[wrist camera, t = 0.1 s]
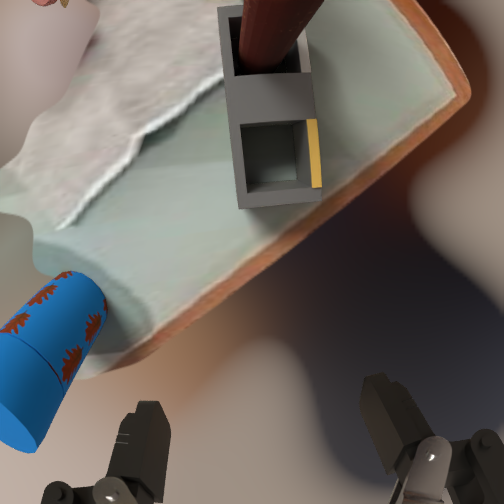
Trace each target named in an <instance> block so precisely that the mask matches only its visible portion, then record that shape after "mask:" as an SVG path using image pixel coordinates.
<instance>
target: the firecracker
mask: <svg viewBox="0 0 504 504" xmlns="http://www.w3.org/2000/svg"><path fill="white" fill-rule="evenodd" d="M323 2H324V0H244V6H243V14H242V23H241V32H240V41H239V50H238V66H239V68H240V70H241V71H242V72H243V74H245V75H258V74H273V73H274V72H275V71H276V70H277V68H278V67H279V65H280V64H281V62H282V61H283V59H284V58H285V56H286V55H287V53H288V52H289V50H290V49H291V47H292V46H293V44H294V43H295V41H296V40H297V38H298V37H299V35H300V34H301V32H302V31H303V30H304V28H305V27H306V25H307V24H308V22H309V21H310V20H311V18H312V17H313V15H314V14H315V13H316V11H317V10H318V9H319V7H320V6H321V4H322V3H323Z"/></svg>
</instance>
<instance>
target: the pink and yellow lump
mask: <svg viewBox="0 0 504 504" xmlns="http://www.w3.org/2000/svg"><path fill="white" fill-rule="evenodd" d="M32 1H33V2H34V3H36V4H37V5H40V6H48V5H51V4H54V3H55V2H56V1H57V0H32ZM60 1H61V4H62V6H63V7H64V8H66V6H67V4H68V1H69V0H60Z"/></svg>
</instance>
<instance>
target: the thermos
mask: <svg viewBox="0 0 504 504" xmlns="http://www.w3.org/2000/svg"><path fill="white" fill-rule="evenodd" d="M107 310H108V309H107V304H106V299H105V297H104V295H103V293H102V291H101V289H100V288H99V287H98V286H97V285H96V284H95V283H94V282H93V280H92V279H90V278H88V277H87V276H85V275H83V274H82V273H78V272H74V271H68V272H62V273H61V274H59V275H58V276H57V277H55V278H54V279H53V280H52V281H51V282H49V283H48V284H47V285H45V286H44V287H43V288H41V289H40V290H39V291H38V292H37V293H36V294H35V295H34V296H33V297H32V298H31V299H30V300H29V301H28V302H27V303H26V304H25V305H24V306H23V307H22V308H21V309H20V310H19V311H18V312H17V313H16V314H15V315H14V316H13V317H12V318H11V319H10V320H9V321H8V322H7V323H6V324H5V325H4V326H3V327H2V328H1V329H0V440H1V441H2V442H3V443H5V444H6V445H9V446H10V447H12V448H14V449H16V450H18V451H22V452H25V453H35V452H36V450H37V448H38V447H39V445H40V444H41V442H42V441H43V439H44V438H45V436H46V433H47V431H48V429H49V427H50V424H51V423H52V421H53V418H54V416H55V414H56V412H57V410H58V408H59V406H60V404H61V402H62V400H63V398H64V396H65V394H66V392H67V390H68V389H69V387H70V385H71V383H72V381H73V379H74V377H75V375H76V373H77V372H78V370H79V368H80V366H81V364H82V362H83V361H84V359H85V357H86V355H87V353H88V352H89V350H90V348H91V346H92V345H93V343H94V341H95V339H96V338H97V336H98V334H99V332H100V330H101V328H102V326H103V324H104V322H105V320H106V316H107Z"/></svg>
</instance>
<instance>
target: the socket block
mask: <svg viewBox="0 0 504 504" xmlns="http://www.w3.org/2000/svg"><path fill="white" fill-rule="evenodd" d="M243 6H244V5H236V6H224V7H217V12H218V24H219V35H220V45H221V55H222V64H223V74H224V83H225V93H226V102H227V112H228V121H229V130H230V139H231V148H232V157H233V166H234V175H235V184H236V193H237V201H238V207H239V209H247V208H256V207H265V206H274V205H284V204H294V203H304V202H315V201H322V194H321V187H322V180H321V164H320V150H319V138H318V127H317V119H316V115H315V105H314V96H313V88H312V79H311V65H310V58H309V51H308V44H307V38H306V31H305V28H304V30H303V31H302V32H301V34H300V35H299V37H298V38H297V40H296V41H295V43H294V44H293V46H292V47H291V49H290V50H289V52H288V53H287V55H286V56H285V65H286V73H276V74H258V75H244V76H234V67H233V58H232V48H231V39H233V38H240V32H241V23H242V14H243ZM285 124H292V127H293V138H294V149H295V160H296V173H297V180H287V181H276V182H266V183H256V184H247V185H246V178H245V169H244V159H243V150H242V141H241V132H240V128H247V127H258V126H270V125H285Z"/></svg>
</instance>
